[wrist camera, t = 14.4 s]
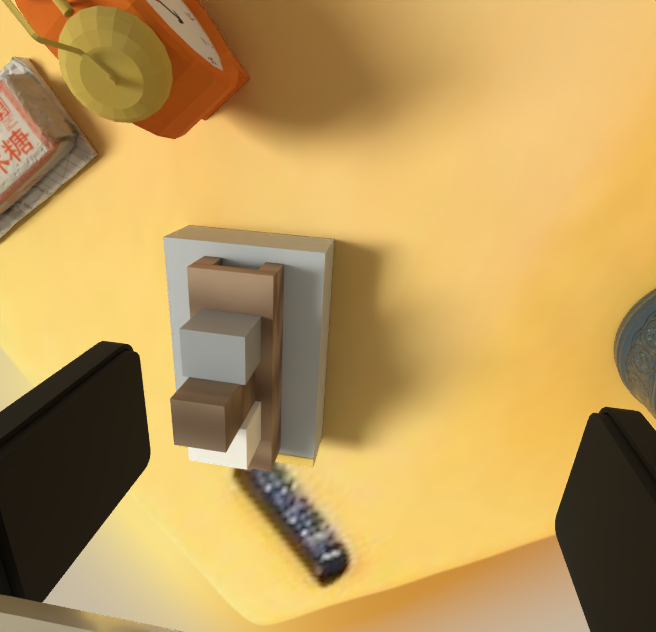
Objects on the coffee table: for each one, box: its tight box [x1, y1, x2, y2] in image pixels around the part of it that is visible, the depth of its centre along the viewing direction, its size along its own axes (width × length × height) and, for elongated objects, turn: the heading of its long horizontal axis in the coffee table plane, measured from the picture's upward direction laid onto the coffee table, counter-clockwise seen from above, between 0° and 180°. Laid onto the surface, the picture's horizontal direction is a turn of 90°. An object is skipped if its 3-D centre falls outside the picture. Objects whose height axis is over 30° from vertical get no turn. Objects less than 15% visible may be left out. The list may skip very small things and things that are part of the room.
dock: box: [164, 225, 334, 468], centre depth 45 cm, size 22×14×5 cm, turn 177°
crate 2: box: [188, 401, 261, 469], centre depth 39 cm, size 4×5×4 cm
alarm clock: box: [2, 0, 250, 139], centre depth 29 cm, size 13×6×20 cm, turn 37°
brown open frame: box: [170, 256, 284, 471], centre depth 38 cm, size 19×7×10 cm, turn 177°
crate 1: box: [179, 309, 261, 385], centre depth 36 cm, size 4×5×4 cm
